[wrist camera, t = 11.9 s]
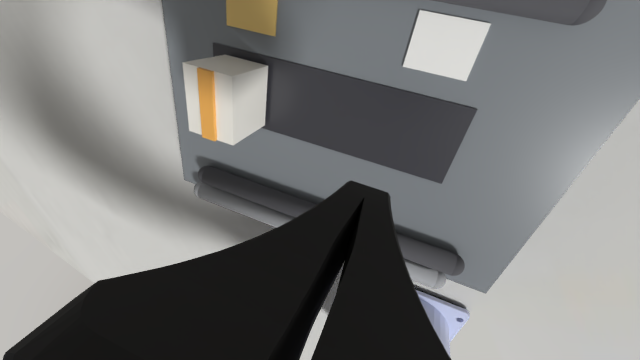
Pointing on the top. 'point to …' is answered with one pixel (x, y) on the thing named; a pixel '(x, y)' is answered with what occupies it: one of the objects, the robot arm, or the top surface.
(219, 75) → the white orange striped block
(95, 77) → the top surface
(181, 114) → the panel
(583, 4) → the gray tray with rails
